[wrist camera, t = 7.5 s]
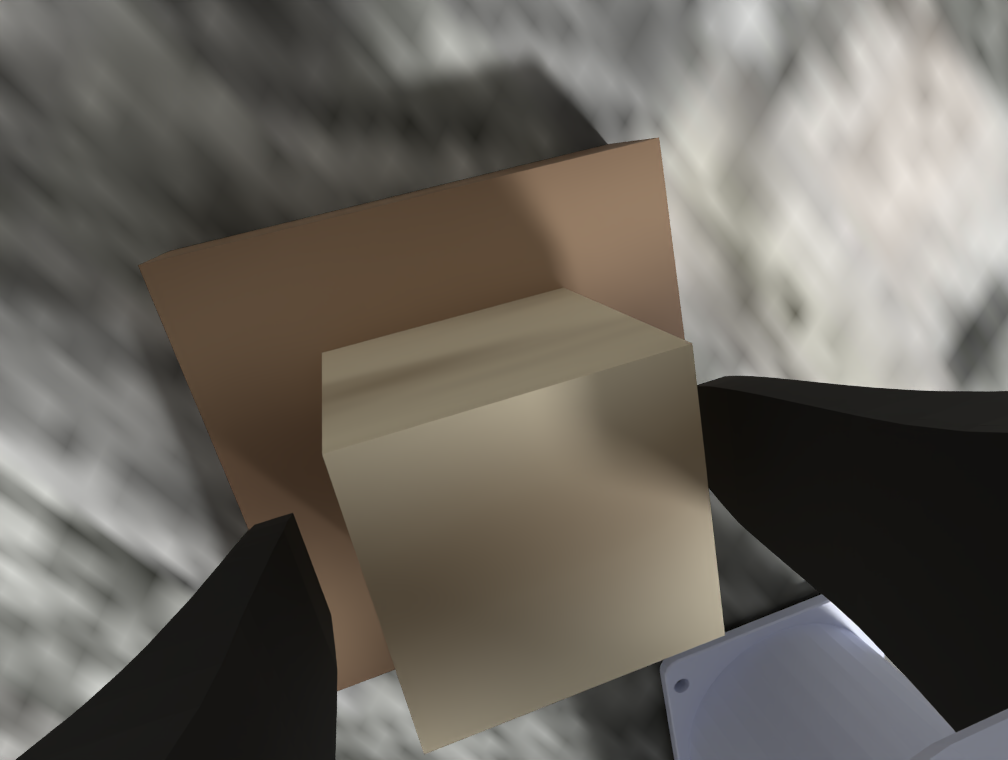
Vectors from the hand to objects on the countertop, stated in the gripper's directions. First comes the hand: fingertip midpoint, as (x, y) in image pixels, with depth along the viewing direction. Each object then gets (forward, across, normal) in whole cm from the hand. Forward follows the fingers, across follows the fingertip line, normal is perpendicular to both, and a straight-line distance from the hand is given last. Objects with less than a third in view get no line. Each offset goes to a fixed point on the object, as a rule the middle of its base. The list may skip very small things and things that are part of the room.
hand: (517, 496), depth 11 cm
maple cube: (+3, 0, 0) cm, 3 cm away
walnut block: (+6, 0, 0) cm, 6 cm away
